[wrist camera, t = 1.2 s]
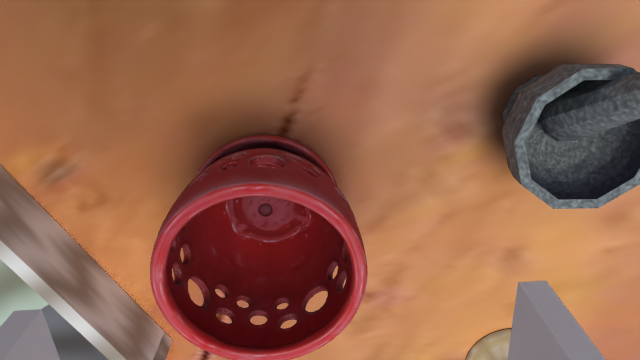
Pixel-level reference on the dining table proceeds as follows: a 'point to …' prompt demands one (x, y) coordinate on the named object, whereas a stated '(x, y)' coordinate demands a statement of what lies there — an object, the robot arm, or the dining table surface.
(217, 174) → the plant pot
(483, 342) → the hand bell
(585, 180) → the mortar and pestle
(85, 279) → the box
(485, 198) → the dining table surface
